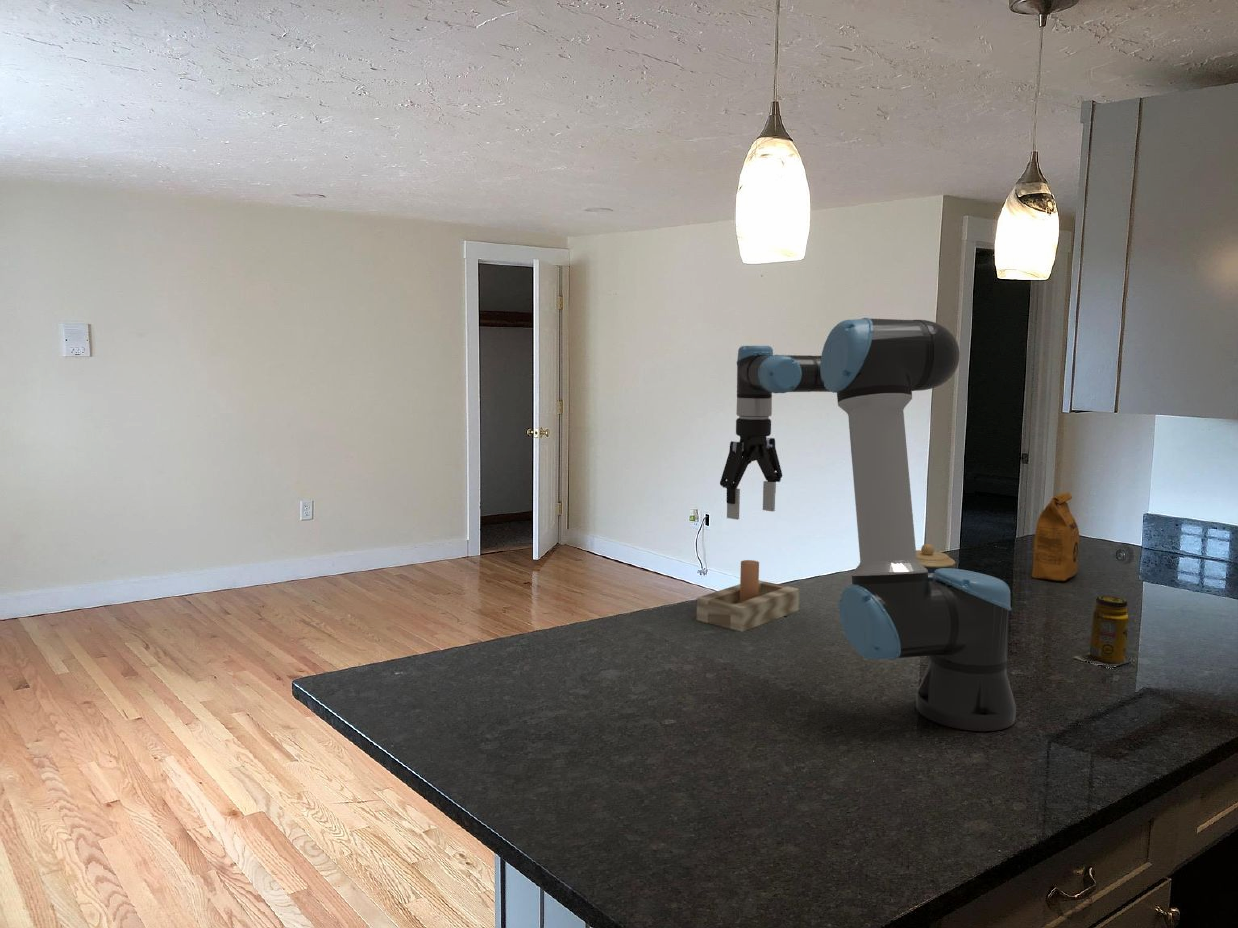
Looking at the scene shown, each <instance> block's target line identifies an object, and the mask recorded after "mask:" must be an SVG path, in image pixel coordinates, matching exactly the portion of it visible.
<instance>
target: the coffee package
mask: <svg viewBox="0 0 1238 928" xmlns="http://www.w3.org/2000/svg"><path fill="white" fill-rule="evenodd" d="M1072 498H1073V497H1072V495H1071V494H1070V492H1065V493H1064V492H1063V493H1061V494H1058V495H1054V496H1053V497H1052V498H1051V499H1050V501H1049V503H1048V504H1047V505H1046V506H1045V508H1044V509H1043V510H1042V511H1041V514H1040V515H1039V516H1038V518H1037V519H1038V520H1037V523H1036V527H1035V534H1034V539H1033V540H1034V542H1033V556H1032V557H1033V561H1032V562H1033V563H1032V565H1033V566H1032V571H1031V577H1032V578H1034V579H1041V580H1051V581H1056V582H1057V581H1059V582H1060V581H1066V580H1068V579H1070V578H1072V577H1074V576H1075V575H1076V573H1077V572H1078V561H1079V560H1078V559H1079V547H1080V537H1081V536H1080V532H1079V526H1078V524H1077V522H1076V520H1075V518H1074V516H1073V514H1072V513H1071V511H1070V507H1069V505H1068V501H1070V500H1071V499H1072Z"/></svg>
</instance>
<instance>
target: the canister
mask: <svg viewBox="0 0 1238 928" xmlns="http://www.w3.org/2000/svg"><path fill="white" fill-rule="evenodd" d="M916 558H917V560H918V562H919V563H920V564H921V565H923V566H924V567H925V568H926V569H927V570H928V579H929V581H934V578H933V575H934V572H935V570H937V569H939V568H952V569H955V567H954V566H955V564H956V561H955V560H954V559H953V558H951V557H950V556H949V554H948V553H947V554H946V553H944V552H941V551H936V550H935V547H934V546H933V545H932V544H931V543H924V544H923V545H922V546H921V548H920V549H919V550H918V549H916Z"/></svg>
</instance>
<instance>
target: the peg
mask: <svg viewBox="0 0 1238 928" xmlns="http://www.w3.org/2000/svg"><path fill="white" fill-rule="evenodd" d="M759 574H760V561H758V560H754V559H753V560H752V559H751V560H750V559H747V560H745V559H743V560H741V561H740V574H739V575H740V576H739V577H740V580H739V584H740V603H741V602H744V601H746V600H749V599H752V598H755V597H758V587H759V580H760V579H759V578H760V577H759V576H760V575H759Z"/></svg>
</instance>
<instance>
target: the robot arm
mask: <svg viewBox="0 0 1238 928" xmlns="http://www.w3.org/2000/svg"><path fill="white" fill-rule="evenodd" d="M825 340H826V341H825V342H824V344H823V348H822V351H821V355H802V354H801V355H797V354H794V355H792V354H791V355H790V354H789V355H788V354H774V350H773V347H772V346H770V345H741V346H739V348H738V351H737V360H736V412H735V413H736V416H738V418H736V420H735V435H737V436H738V437H739V441H730V443H729V450H728V451H729V452H728V455H727V457H726V462H725V464H724V467H723V468H724V469H723V471H722V475H721V478H720V481H719V484H720V486H721V487H722V488H723V489H724V488H725V489H726V519H731V520H740V503H741V502H740V500H741V495H740V494H741V492H740V491H741V488H738V487H739V485H740V483H741V481H742V478H743V477H744V474H745V472H746V471H747V468H748V466H749V465H750V464H752V462H755V461H756V462H757V464H758V466H759V469H760V470H761V472H762V475H763V477H764V478H765V480H764V481H763V485H762V486H763V487H762V489H763V491H762V511H766V512H767V511H768V512H775V511H776V491H777V490H776V488H777V483H780V482H781V480H782V478H783V472H782V467H781V464H780V461H779V457H778V456H779V455H778V453H777V449H776V448H777V447H776V440H775V439H776V438H773V437H769V436H771V434H772V419H770V418H769V417H772V413H773V412H772V411H773V410H772V409H773V408H772V407H773V403H772V402H773V401H772V399H773V394H785V393H811V392H815V393H826V392H827V393H832V394H833V393H835V394H836V398H837V407H839V408H840V409H842V411H844V412H845V413H846V415H847V418H848V430H849V442H850V453H851V455H850V456H851V464H852V476H853V487H854V488H853V489H854V502H855V503H854V504H855V514H856V526H857V537H858V539H857V540H858V550H859V563H858V565H857V566H856V568H855V569H854V570H853V572H851V583H852V584H850V585H848V586H847V587H845V588H843V590H842V592H841V595H840V600H839V605H838V609H839V611H838V612H839V619H840V622H841V627H842V629H843V632H844V635H845V637H846V639H847V641H848V643H850V645H851V647H852V648H853V650H854V651H855V652H856V653H857V654H858V655H860V656H861V657H863V658H865V659H868V660H874V661H875V660H876V661H878V660H883V661H884V660H886V661H896V660H898V659H907V658H908V659H909V658H917V657H918V658H919V657H929V661H928V665H927V667H926V670H925V672H924V674H923V677H922V679H921V681H920V684H919V687H918V689H917V690H916V696H915V697H916V698H915V707H916V711H917V712H918V713H919V714H920V715H921V716H923V717H924V718H926V719H927V720H930V721H931V722H934V723H937V724H940V725H942V726H946V727H950V728H954V729H958V730H965V731H974V732H975V731H976V732H994V731H1000V730H1005V729H1007V728H1010V727H1012V726H1013V724H1014V723H1015V722H1016V714H1017V713H1016V712H1017V706H1016V702H1015V699H1014V695H1013V692H1012V689H1011V684H1010V681H1009V677H1008V673H1007V663H1008V661H1007V660H1008V647H1009V630H1010V619H1011V612H1012V607H1011V589H1010V587H1009V585H1008V584H1007V583H1006V582H1005V581H1004V580H1002V579H1000V578H998V577H995V576H992V575H988V574H984V573H981V572H978V571H977V572H975V571H971V570H966V569H960V568H954V569H952V568H939V569H937V570H935V572H934V575H933V578H934V581H929V579H928V570H927V569H926V568H925V567H924V566H923V565H921V564H920V563H919V562H918V560H917V558H916V550H917V546H916V537H915V526H914V516H913V515H914V513H913V504H912V493H911V492H912V491H911V483H910V482H911V481H910V479H911V478H910V470H909V460H908V459H909V457H908V447H907V446H908V445H907V437H906V435H907V434H906V425H905V413H904V410H905V409H906V407H907V406H908V404H909V403H910V402H911V401H912V400H913V392H914V391H915V392H916V391H918V392H919V391H927V390H931V389H935V388H937V387H940V386H942V385H944V384H946V383H947V382H948V381H949V380H950V379H951V378H952V377H953V375H954V374H955V373H956V371H957V369H958V367H959V363H960V357H961V356H960V355H961V353H960V347H959V346H960V345H959V344H958V341H957V339H956V338H955V336H954V335H953V333H951V331H949V330H948V328H946V327H945V326H943V325H941V324H939V323H937V322H934V321H932V320H926V319H895V318H893V319H892V318H890V319H889V318H868V317H863V318H859V319H857V318H855V319H844V320H842V321H840V322H838V323H837V324H836V325H834V327H833V328H832V329H830V332H829V333H828V336H827V337H826V339H825Z"/></svg>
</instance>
